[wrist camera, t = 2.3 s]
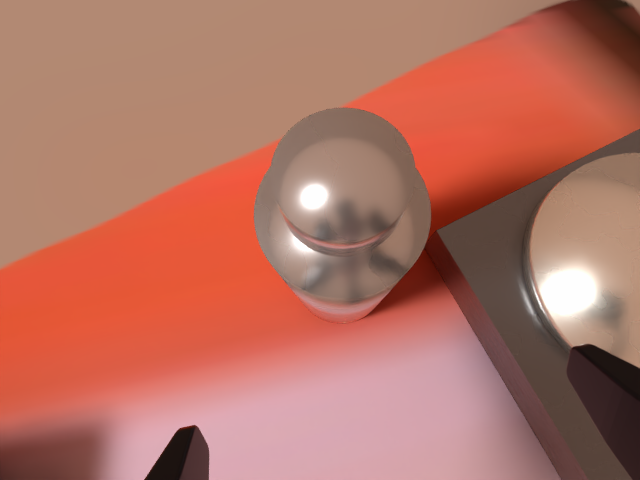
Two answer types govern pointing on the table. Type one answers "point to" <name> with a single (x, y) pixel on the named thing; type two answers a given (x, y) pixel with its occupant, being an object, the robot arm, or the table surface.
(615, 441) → the robot arm
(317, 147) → the steel weight
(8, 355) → the table surface
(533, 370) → the bench scale
